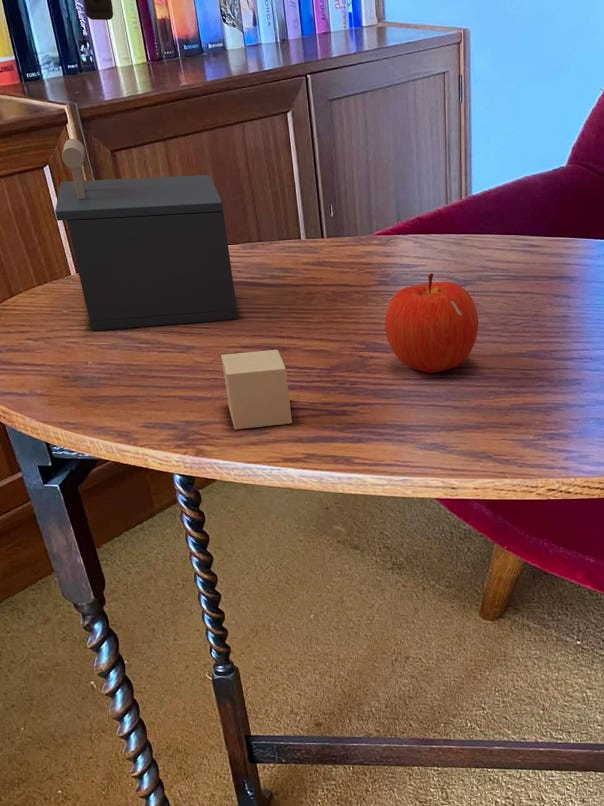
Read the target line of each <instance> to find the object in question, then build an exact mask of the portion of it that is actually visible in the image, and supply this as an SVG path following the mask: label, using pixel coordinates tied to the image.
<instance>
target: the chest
mask: <svg viewBox="0 0 604 806" xmlns="http://www.w3.org/2000/svg"><path fill="white" fill-rule="evenodd" d="M66 224H67V228H68V232H69V233H68V234H69V237H70V241H71V246H72V250H73V255H74V260H75V264H76V268H77V272H78V277H79V281H80V285H81V290H82V294H83V299H84V303H85V307H86V312H87V316H88V321H89V326H90V329H91V331H92V332H97V331H108V330H110V331H111V330H121V329H130V328H133V329H134V328H141V327H142V328H143V327H156V326H168V325H169V326H170V325H179V324H190V323H191V324H192V323H204V322H215V321H227V320H238V319H239V315H238V308H237V300H236V294H235V287H234V278H233V270H232V263H231V256H230V249H229V241H228V235H227V228H226V220H225V213H224V210H223V211H221V212H204V213H186V214H168V215H150V216H132V217H114V218H96V219H79V220H66Z"/></svg>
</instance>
